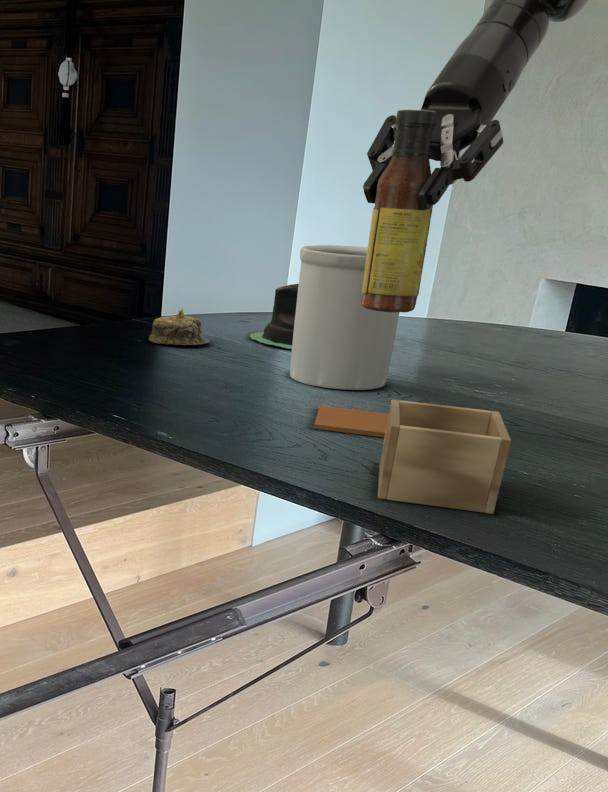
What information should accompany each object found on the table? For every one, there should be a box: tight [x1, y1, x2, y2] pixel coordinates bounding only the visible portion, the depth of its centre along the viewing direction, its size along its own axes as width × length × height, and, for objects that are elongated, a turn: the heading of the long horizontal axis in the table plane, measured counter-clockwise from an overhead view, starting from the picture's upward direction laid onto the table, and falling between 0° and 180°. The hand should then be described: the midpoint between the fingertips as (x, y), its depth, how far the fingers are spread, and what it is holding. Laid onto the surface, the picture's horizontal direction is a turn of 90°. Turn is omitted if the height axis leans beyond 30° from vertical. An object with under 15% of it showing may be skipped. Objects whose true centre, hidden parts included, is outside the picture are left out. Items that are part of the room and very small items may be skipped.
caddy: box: [377, 398, 512, 515], centre depth 96 cm, size 11×12×7 cm
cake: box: [148, 308, 211, 346], centre depth 160 cm, size 10×10×5 cm
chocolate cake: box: [249, 283, 299, 350], centre depth 167 cm, size 15×19×20 cm
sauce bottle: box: [361, 109, 437, 313], centre depth 107 cm, size 6×6×20 cm
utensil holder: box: [289, 244, 400, 391], centre depth 138 cm, size 15×15×18 cm
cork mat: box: [313, 405, 389, 438], centre depth 119 cm, size 10×10×1 cm
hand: (395, 199), depth 105 cm, fingers closed on sauce bottle, 6 cm apart
